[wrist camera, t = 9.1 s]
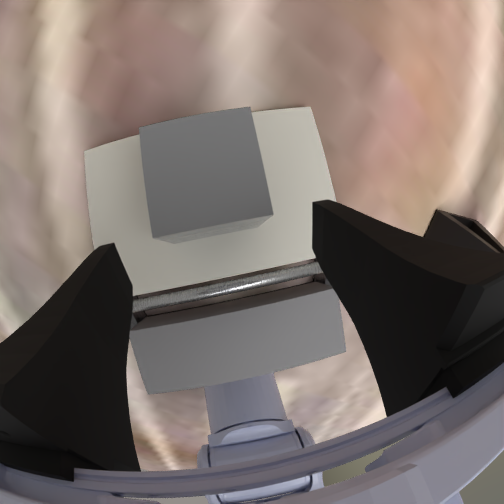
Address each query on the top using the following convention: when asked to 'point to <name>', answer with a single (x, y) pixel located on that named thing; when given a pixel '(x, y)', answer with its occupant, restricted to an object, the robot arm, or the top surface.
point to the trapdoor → (223, 265)
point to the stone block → (204, 176)
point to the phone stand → (462, 233)
